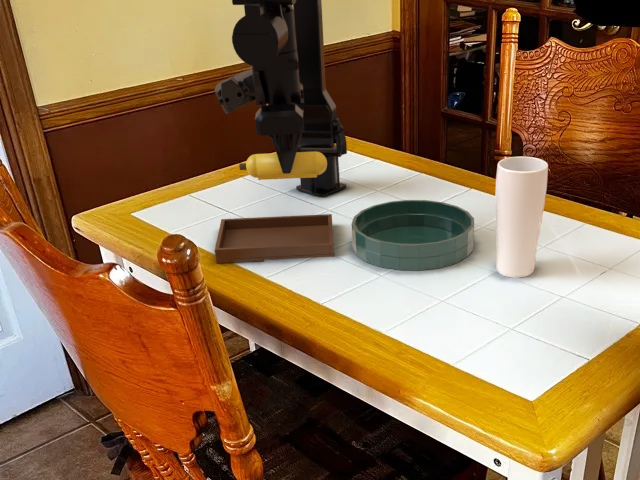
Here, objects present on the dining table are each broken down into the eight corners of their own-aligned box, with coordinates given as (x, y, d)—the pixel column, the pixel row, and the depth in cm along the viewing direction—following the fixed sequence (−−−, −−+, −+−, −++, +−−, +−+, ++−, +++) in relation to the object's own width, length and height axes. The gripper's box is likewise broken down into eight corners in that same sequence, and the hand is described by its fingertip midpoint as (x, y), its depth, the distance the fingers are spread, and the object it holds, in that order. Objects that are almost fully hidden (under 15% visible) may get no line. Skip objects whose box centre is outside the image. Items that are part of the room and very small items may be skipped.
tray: (332, 226, 133) (331, 213, 132) (334, 257, 124) (333, 244, 123) (223, 232, 132) (221, 218, 131) (216, 263, 123) (214, 249, 121)
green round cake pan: (405, 216, 137) (405, 191, 134) (496, 243, 127) (498, 217, 125) (328, 251, 126) (326, 225, 123) (422, 283, 117) (422, 255, 114)
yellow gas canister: (327, 170, 123) (326, 148, 121) (328, 177, 121) (326, 154, 119) (241, 174, 122) (238, 151, 120) (240, 181, 120) (237, 158, 118)
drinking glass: (543, 265, 121) (553, 158, 112) (533, 284, 116) (543, 174, 106) (497, 259, 123) (503, 153, 113) (485, 278, 117) (491, 169, 108)
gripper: (219, 37, 118) (234, 151, 128) (207, 67, 104) (225, 194, 113) (298, 35, 119) (308, 148, 129) (298, 64, 104) (308, 190, 114)
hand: (286, 169), depth 121 cm, fingers closed on yellow gas canister, 3 cm apart
